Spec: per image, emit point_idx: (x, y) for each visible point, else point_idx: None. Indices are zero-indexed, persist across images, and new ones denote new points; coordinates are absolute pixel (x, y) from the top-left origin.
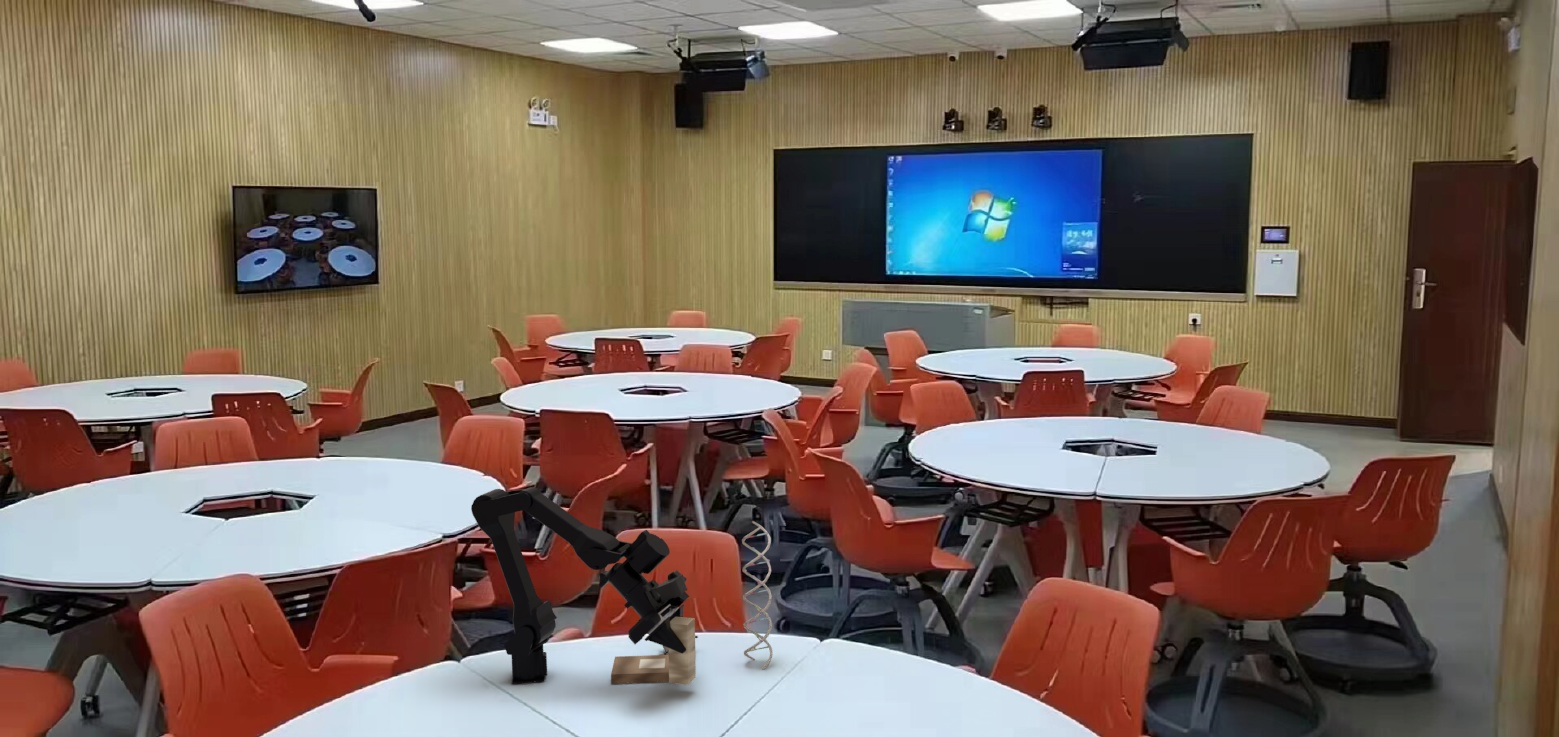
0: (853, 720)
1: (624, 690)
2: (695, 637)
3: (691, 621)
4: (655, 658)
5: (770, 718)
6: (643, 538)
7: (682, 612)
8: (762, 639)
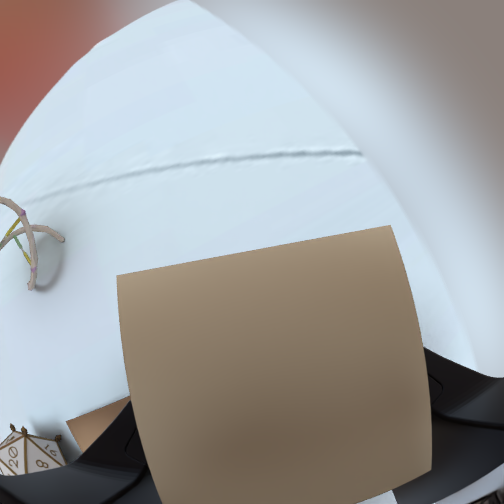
0: (240, 48)
1: None
2: (14, 428)
3: (239, 254)
4: None
5: (295, 113)
6: None
7: (55, 477)
8: (19, 210)
